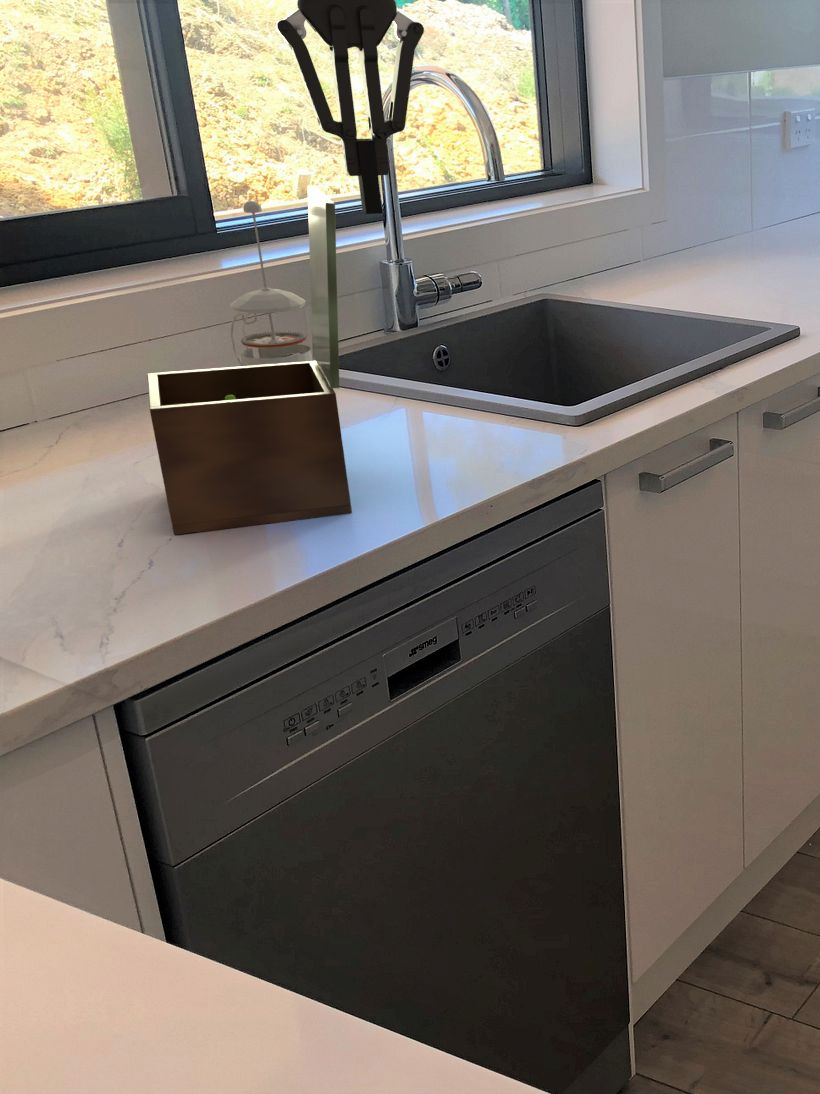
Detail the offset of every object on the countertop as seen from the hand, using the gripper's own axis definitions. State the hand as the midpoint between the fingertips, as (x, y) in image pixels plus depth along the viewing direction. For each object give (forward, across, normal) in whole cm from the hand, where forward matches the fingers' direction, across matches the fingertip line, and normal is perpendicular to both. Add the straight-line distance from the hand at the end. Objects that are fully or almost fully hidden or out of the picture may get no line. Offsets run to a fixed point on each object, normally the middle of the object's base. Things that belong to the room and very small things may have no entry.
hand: (372, 211), depth 133 cm
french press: (+27, -9, +32) cm, 43 cm away
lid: (+6, -6, 0) cm, 9 cm away
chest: (+27, -14, 0) cm, 31 cm away
